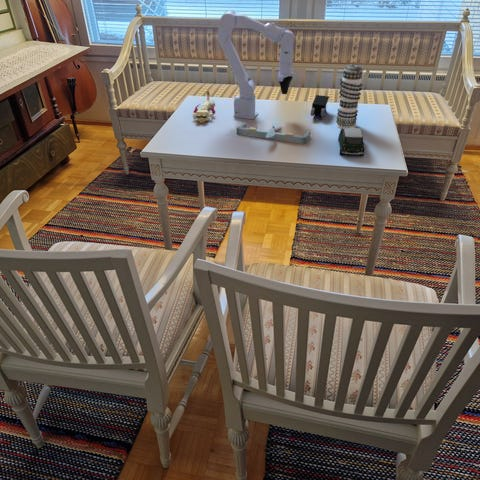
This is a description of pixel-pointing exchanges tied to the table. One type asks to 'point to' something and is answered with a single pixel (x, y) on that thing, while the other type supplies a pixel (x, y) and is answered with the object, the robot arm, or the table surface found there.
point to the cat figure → (204, 110)
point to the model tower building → (349, 96)
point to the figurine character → (319, 106)
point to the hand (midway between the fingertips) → (284, 93)
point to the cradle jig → (279, 136)
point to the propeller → (273, 130)
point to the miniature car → (351, 141)
